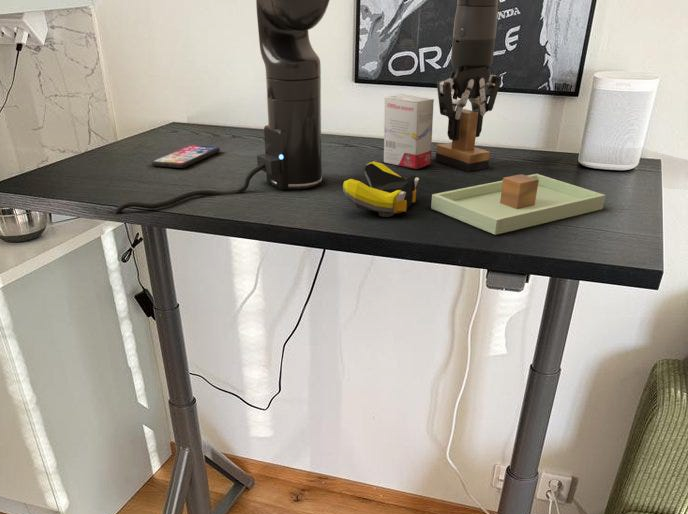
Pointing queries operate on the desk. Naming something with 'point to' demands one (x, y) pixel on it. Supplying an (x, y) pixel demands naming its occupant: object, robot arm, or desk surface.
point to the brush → (464, 146)
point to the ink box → (408, 130)
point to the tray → (497, 218)
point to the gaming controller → (382, 190)
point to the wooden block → (519, 191)
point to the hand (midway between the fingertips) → (463, 137)
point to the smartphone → (185, 156)
